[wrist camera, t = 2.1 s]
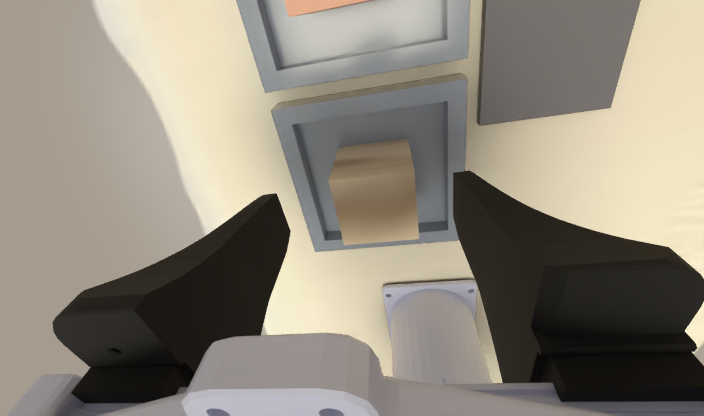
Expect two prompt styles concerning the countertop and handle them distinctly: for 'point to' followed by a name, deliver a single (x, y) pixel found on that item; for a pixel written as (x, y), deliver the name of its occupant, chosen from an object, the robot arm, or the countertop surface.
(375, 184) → the plain cube
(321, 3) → the letter cube
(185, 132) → the countertop surface
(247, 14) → the dish
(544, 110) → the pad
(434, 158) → the dish
